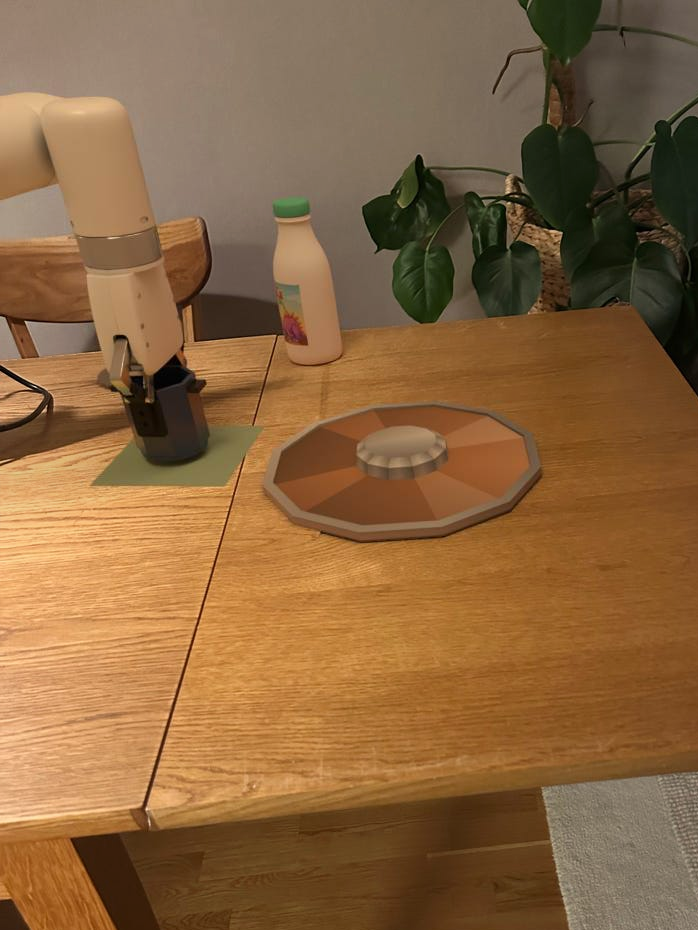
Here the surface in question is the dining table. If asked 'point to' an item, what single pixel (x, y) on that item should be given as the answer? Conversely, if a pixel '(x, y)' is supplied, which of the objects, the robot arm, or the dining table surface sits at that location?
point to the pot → (174, 415)
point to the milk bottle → (304, 287)
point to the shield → (402, 471)
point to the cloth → (183, 462)
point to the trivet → (105, 380)
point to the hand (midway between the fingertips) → (167, 418)
